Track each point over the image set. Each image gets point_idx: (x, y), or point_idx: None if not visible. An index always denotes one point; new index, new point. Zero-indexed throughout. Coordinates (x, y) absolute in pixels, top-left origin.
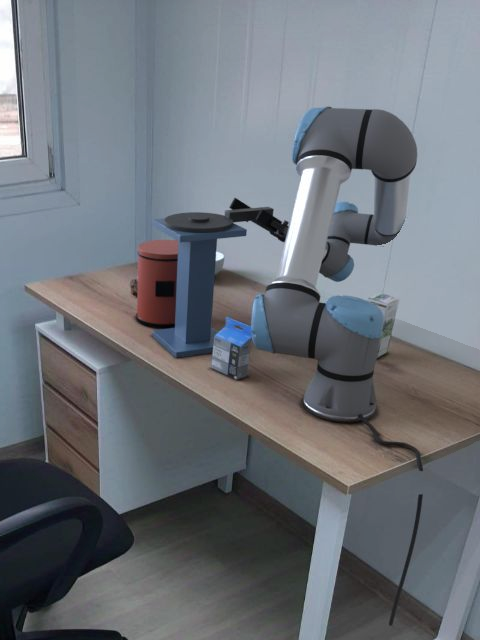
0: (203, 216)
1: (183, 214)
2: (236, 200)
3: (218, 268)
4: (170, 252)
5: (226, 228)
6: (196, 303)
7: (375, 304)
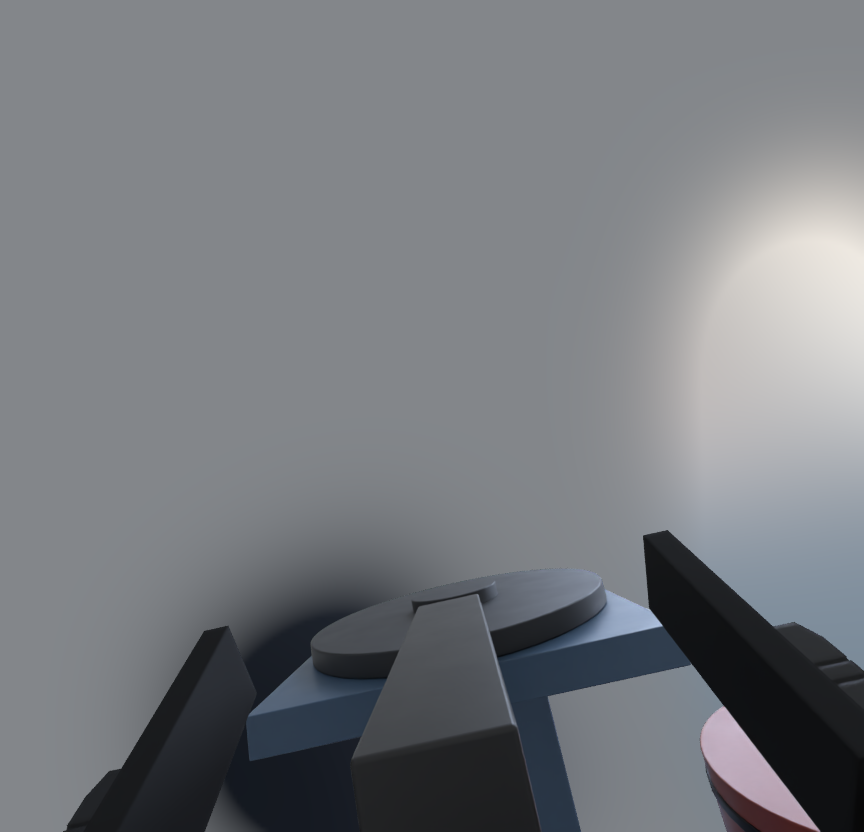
0: (454, 592)
1: (560, 575)
2: (653, 555)
3: None
4: (743, 758)
5: (314, 661)
6: None
7: None
